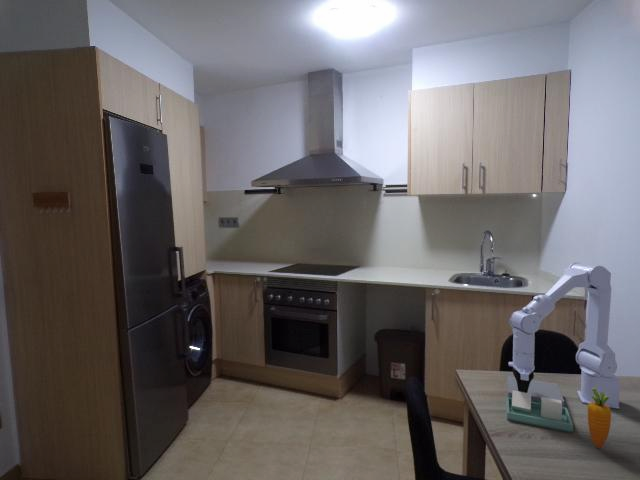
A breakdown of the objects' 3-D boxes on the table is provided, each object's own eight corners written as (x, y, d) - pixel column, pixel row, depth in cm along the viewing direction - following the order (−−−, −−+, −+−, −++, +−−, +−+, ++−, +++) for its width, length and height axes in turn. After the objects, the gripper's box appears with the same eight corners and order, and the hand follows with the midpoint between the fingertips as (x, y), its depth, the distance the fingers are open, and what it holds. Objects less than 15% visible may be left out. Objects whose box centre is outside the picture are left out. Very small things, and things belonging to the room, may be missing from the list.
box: (566, 415, 109) (566, 407, 109) (572, 433, 100) (573, 425, 100) (506, 403, 116) (506, 397, 116) (507, 419, 107) (507, 412, 107)
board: (557, 393, 122) (557, 383, 122) (564, 413, 111) (564, 401, 110) (506, 385, 129) (507, 375, 128) (507, 402, 117) (508, 392, 117)
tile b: (531, 397, 113) (531, 393, 112) (530, 412, 110) (530, 409, 109) (512, 393, 116) (512, 390, 115) (511, 408, 112) (511, 405, 111)
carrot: (614, 455, 91) (616, 396, 90) (591, 452, 92) (593, 394, 91) (603, 442, 96) (605, 386, 95) (582, 440, 97) (583, 385, 96)
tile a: (561, 400, 107) (562, 403, 105) (560, 417, 107) (561, 420, 106) (541, 396, 109) (541, 399, 108) (540, 413, 110) (541, 416, 108)
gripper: (508, 341, 122) (507, 381, 123) (509, 357, 109) (508, 401, 110) (532, 344, 119) (531, 385, 120) (537, 360, 106) (536, 406, 107)
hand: (522, 393), depth 114 cm, fingers closed
